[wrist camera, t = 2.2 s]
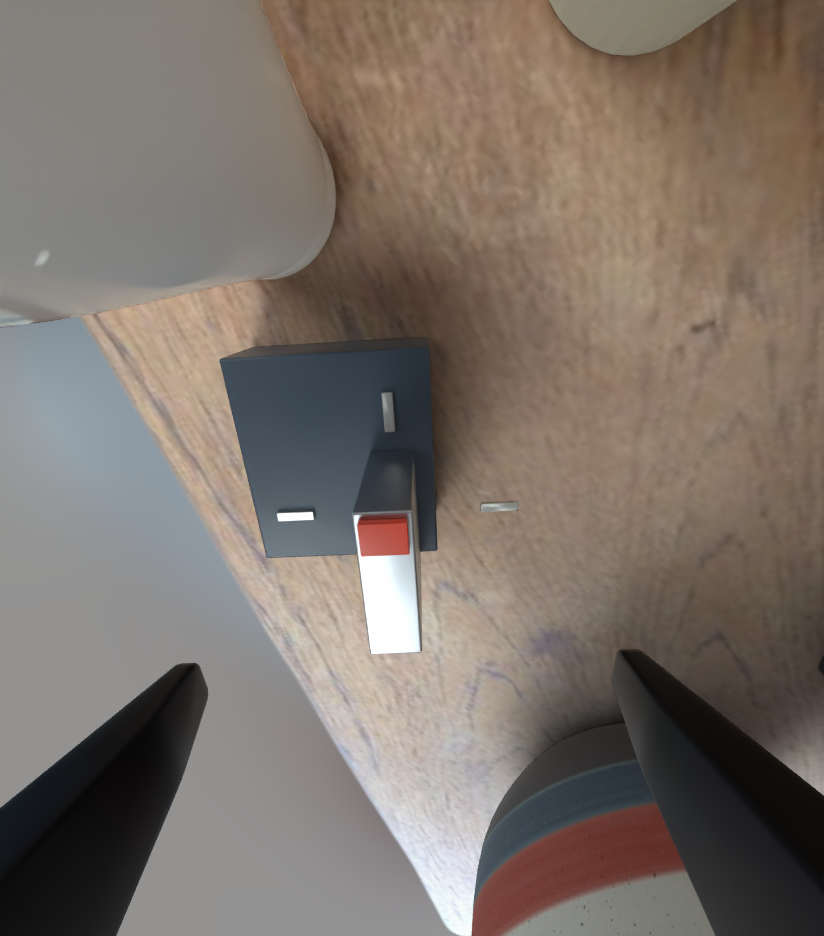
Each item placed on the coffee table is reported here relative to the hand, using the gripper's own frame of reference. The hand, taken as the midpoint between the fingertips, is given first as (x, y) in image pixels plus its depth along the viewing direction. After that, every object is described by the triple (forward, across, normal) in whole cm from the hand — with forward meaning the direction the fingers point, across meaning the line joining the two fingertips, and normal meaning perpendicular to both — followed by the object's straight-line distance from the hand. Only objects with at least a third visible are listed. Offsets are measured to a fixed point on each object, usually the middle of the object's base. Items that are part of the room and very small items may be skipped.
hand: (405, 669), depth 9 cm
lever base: (+10, +1, 0) cm, 11 cm away
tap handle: (+7, 0, 0) cm, 7 cm away
